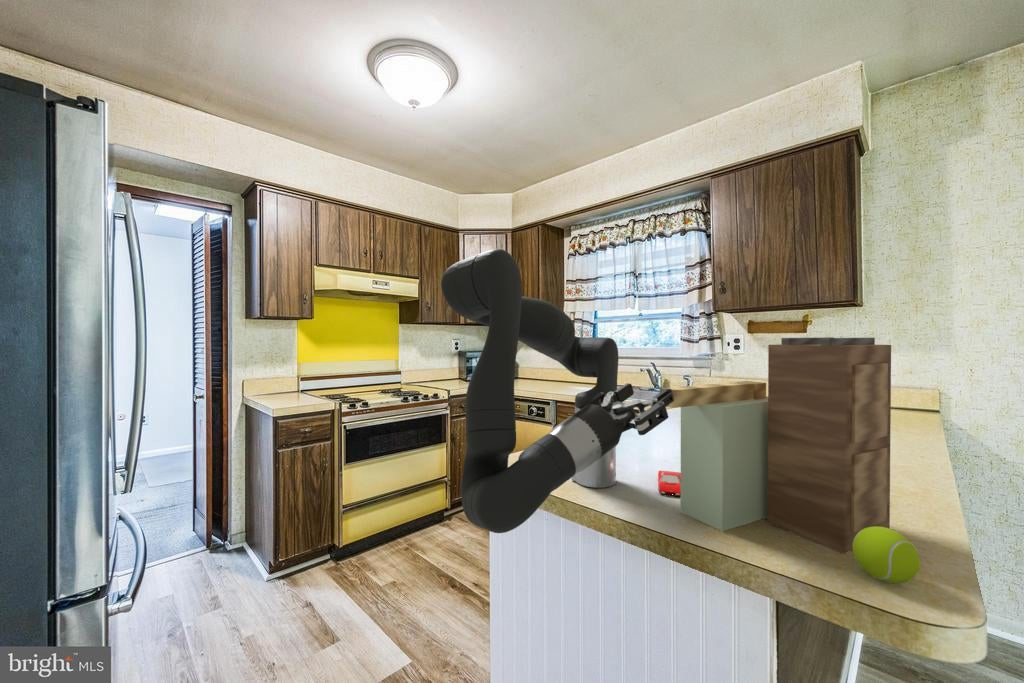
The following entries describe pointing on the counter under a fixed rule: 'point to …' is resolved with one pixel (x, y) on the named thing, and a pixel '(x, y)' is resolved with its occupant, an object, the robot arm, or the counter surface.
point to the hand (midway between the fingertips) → (649, 390)
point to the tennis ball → (886, 554)
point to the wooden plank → (716, 393)
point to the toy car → (669, 483)
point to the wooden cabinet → (829, 438)
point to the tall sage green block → (725, 462)
